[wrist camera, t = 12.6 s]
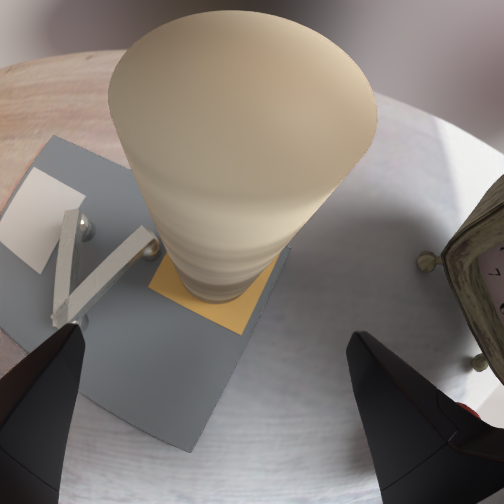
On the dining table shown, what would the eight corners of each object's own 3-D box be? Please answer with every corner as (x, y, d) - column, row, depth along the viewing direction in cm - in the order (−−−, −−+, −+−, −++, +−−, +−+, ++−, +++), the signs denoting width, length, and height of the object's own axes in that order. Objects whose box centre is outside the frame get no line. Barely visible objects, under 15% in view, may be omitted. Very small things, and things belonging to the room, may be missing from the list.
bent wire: (109, 354, 15) (94, 357, 13) (38, 303, 15) (17, 298, 13) (165, 244, 18) (159, 231, 15) (91, 204, 17) (78, 188, 15)
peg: (233, 317, 17) (335, 254, 4) (165, 282, 17) (54, 122, 3) (266, 250, 18) (391, 69, 5) (200, 218, 18) (203, -5, 5)
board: (191, 447, 15) (190, 454, 14) (-27, 292, 15) (-35, 289, 14) (287, 252, 19) (291, 248, 18) (58, 141, 19) (53, 134, 18)
